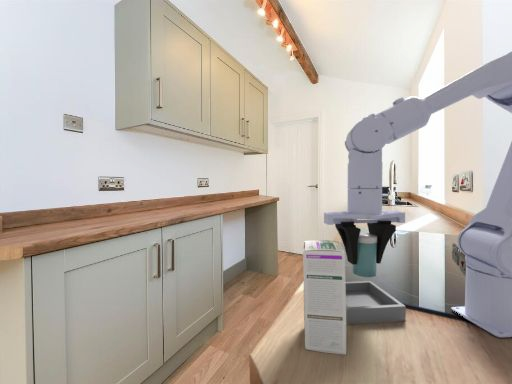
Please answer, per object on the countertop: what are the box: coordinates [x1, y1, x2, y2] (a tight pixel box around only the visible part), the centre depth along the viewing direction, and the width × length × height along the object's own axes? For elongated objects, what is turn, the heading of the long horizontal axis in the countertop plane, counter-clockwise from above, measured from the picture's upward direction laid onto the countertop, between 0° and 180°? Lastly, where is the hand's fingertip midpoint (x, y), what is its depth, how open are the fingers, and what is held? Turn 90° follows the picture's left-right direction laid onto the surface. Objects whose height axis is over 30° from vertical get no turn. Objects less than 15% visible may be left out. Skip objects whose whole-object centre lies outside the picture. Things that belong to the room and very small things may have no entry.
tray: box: [345, 280, 407, 325], centre depth 44 cm, size 10×10×2 cm
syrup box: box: [302, 239, 347, 356], centre depth 35 cm, size 6×6×14 cm
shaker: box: [351, 232, 377, 278], centre depth 43 cm, size 4×4×7 cm
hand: (363, 262), depth 43 cm, fingers closed on shaker, 4 cm apart
